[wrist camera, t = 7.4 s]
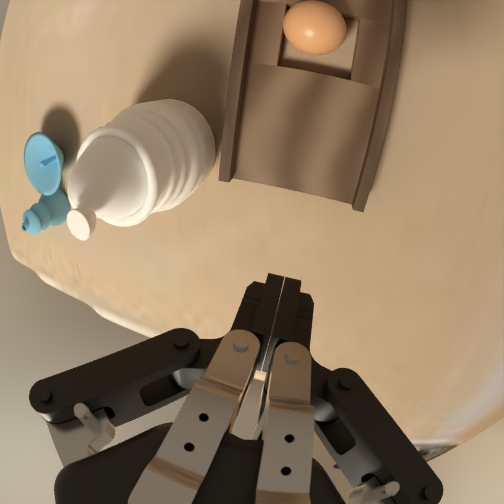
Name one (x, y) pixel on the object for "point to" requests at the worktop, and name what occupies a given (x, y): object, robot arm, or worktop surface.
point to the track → (310, 104)
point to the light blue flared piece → (44, 184)
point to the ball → (314, 27)
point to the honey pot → (139, 165)
